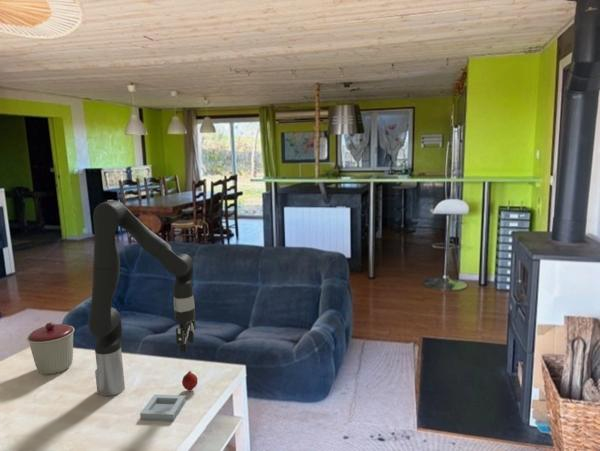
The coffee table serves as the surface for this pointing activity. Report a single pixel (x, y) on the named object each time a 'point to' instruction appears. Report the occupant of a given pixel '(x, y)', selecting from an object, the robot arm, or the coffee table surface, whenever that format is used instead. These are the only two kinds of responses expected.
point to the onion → (189, 381)
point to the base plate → (163, 407)
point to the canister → (52, 347)
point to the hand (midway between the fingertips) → (187, 347)
